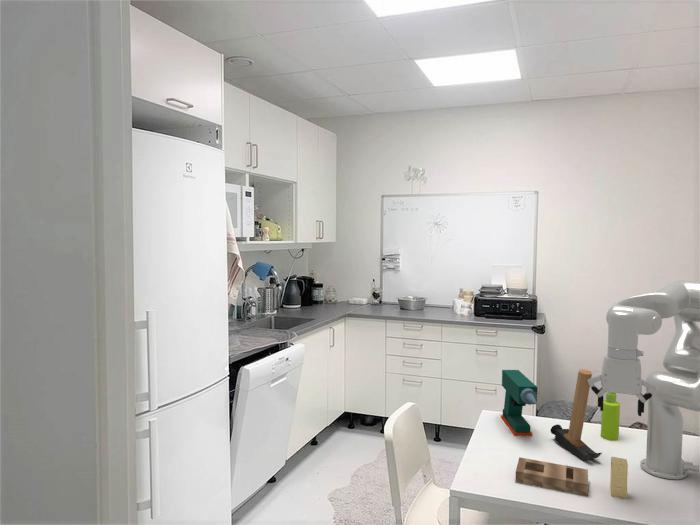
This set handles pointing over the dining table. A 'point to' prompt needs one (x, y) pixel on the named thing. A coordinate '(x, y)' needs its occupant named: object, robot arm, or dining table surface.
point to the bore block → (552, 476)
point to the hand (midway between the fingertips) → (620, 412)
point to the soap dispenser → (610, 417)
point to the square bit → (618, 477)
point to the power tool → (517, 401)
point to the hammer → (576, 421)
